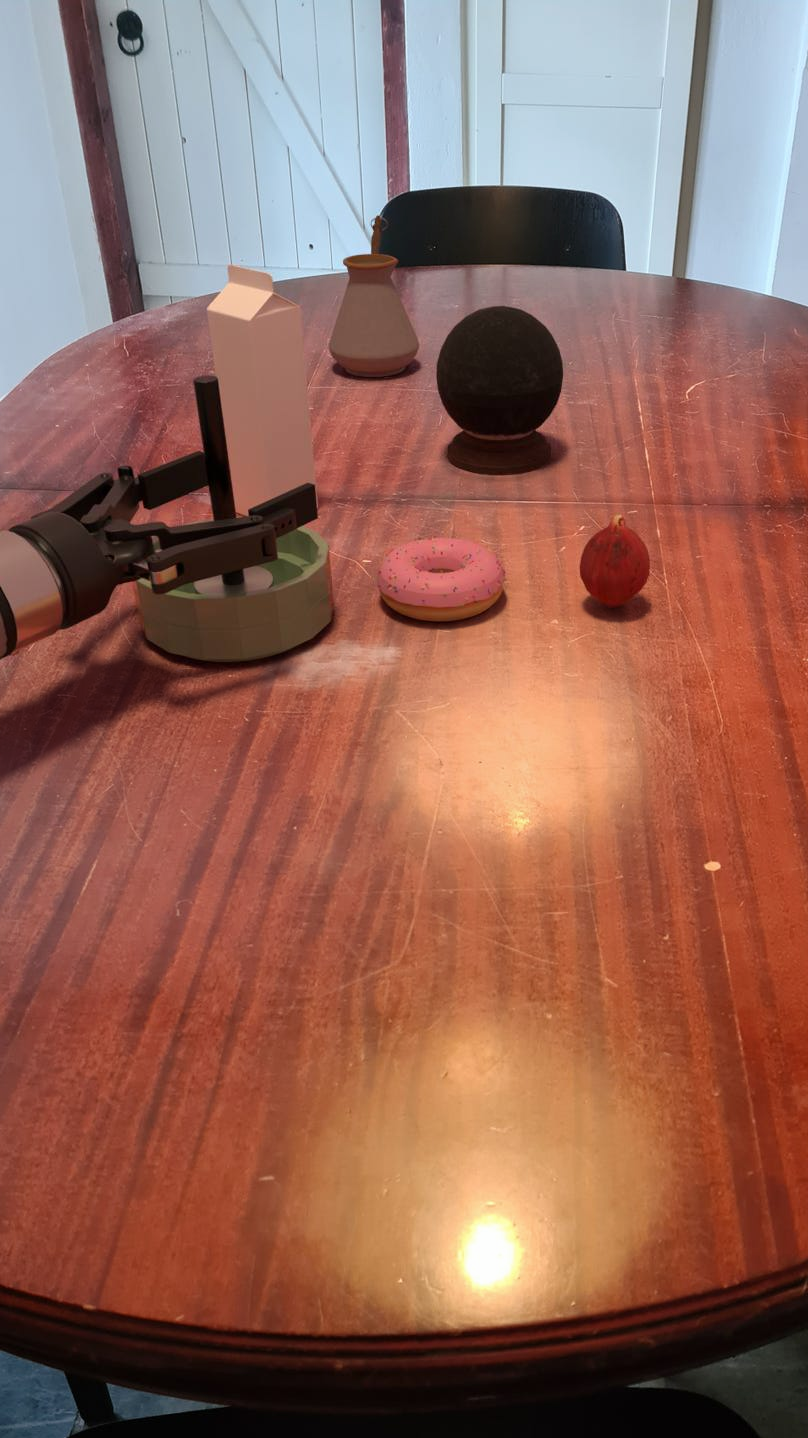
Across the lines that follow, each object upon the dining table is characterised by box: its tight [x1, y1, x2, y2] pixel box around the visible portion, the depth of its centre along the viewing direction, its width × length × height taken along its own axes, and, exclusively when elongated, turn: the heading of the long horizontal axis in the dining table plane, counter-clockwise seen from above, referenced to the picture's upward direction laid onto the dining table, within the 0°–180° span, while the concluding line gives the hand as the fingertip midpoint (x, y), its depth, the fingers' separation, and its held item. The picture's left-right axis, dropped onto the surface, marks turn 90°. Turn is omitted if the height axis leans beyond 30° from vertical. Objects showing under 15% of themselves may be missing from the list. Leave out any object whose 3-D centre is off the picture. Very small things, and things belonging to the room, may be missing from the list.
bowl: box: [131, 516, 335, 663], centre depth 101 cm, size 16×16×6 cm
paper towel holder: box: [192, 374, 274, 595], centre depth 96 cm, size 6×6×19 cm
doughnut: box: [374, 535, 507, 622], centre depth 104 cm, size 11×11×4 cm
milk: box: [206, 264, 319, 517], centre depth 115 cm, size 6×6×22 cm
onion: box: [579, 514, 651, 609], centre depth 102 cm, size 6×6×8 cm
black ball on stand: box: [435, 305, 564, 476], centre depth 128 cm, size 13×13×15 cm
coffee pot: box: [328, 215, 420, 378], centre depth 157 cm, size 21×12×15 cm, turn 179°
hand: (257, 483), depth 98 cm, fingers open, 11 cm apart
